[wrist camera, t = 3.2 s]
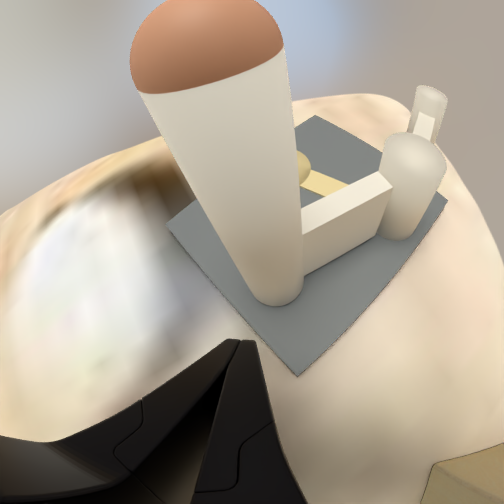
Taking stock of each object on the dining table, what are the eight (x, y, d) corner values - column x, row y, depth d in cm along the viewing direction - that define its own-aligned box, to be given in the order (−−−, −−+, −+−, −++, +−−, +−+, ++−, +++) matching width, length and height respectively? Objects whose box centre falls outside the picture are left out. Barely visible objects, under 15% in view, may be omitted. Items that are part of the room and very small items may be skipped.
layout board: (297, 376, 15) (297, 376, 13) (170, 231, 21) (164, 223, 20) (443, 207, 17) (448, 199, 16) (315, 123, 24) (315, 113, 22)
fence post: (355, 210, 17) (377, -28, 4) (384, 247, 16) (460, -3, 3) (240, 270, 17) (107, 22, 4) (264, 316, 15) (101, 36, 2)
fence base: (402, 256, 16) (445, 186, 10) (357, 233, 18) (377, 153, 11) (431, 165, 19) (455, 98, 13) (396, 149, 21) (411, 78, 14)
